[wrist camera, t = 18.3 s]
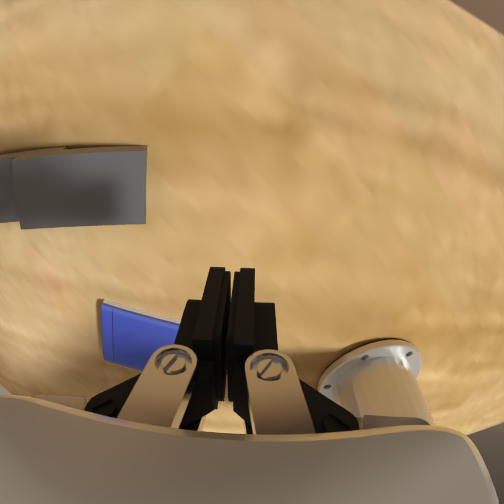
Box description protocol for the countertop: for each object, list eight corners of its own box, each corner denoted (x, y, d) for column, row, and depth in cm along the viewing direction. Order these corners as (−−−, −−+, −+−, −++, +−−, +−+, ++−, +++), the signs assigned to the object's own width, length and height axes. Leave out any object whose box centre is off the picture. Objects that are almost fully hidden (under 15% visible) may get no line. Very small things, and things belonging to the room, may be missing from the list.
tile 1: (146, 150, 17) (11, 160, 14) (145, 223, 20) (20, 229, 17) (147, 145, 19) (21, 154, 16) (146, 213, 21) (28, 218, 18)
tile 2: (60, 151, 17) (-40, 166, 14) (66, 217, 19) (-30, 225, 16) (67, 146, 18) (-29, 160, 15) (71, 208, 21) (-21, 216, 18)
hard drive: (235, 339, 26) (100, 305, 24) (216, 389, 30) (103, 361, 28) (235, 327, 28) (106, 295, 26) (217, 378, 31) (108, 351, 30)
